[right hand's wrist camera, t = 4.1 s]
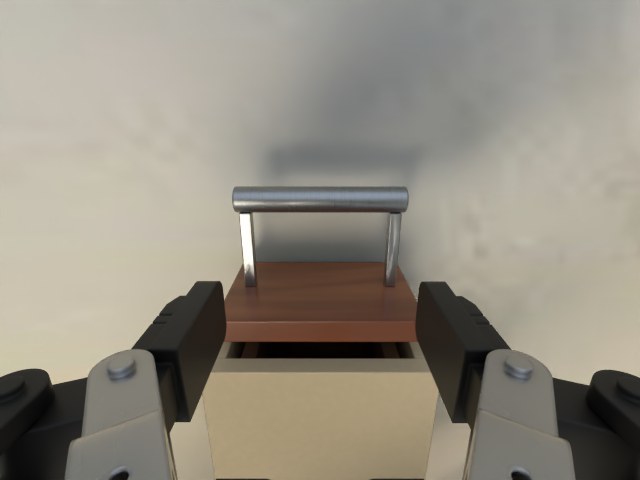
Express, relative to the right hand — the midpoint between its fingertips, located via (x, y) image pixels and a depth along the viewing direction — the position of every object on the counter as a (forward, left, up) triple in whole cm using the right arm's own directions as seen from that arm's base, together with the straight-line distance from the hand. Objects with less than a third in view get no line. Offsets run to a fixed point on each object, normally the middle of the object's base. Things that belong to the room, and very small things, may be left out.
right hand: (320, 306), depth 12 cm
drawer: (-7, -4, -10) cm, 13 cm away
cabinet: (-12, -6, -11) cm, 17 cm away
